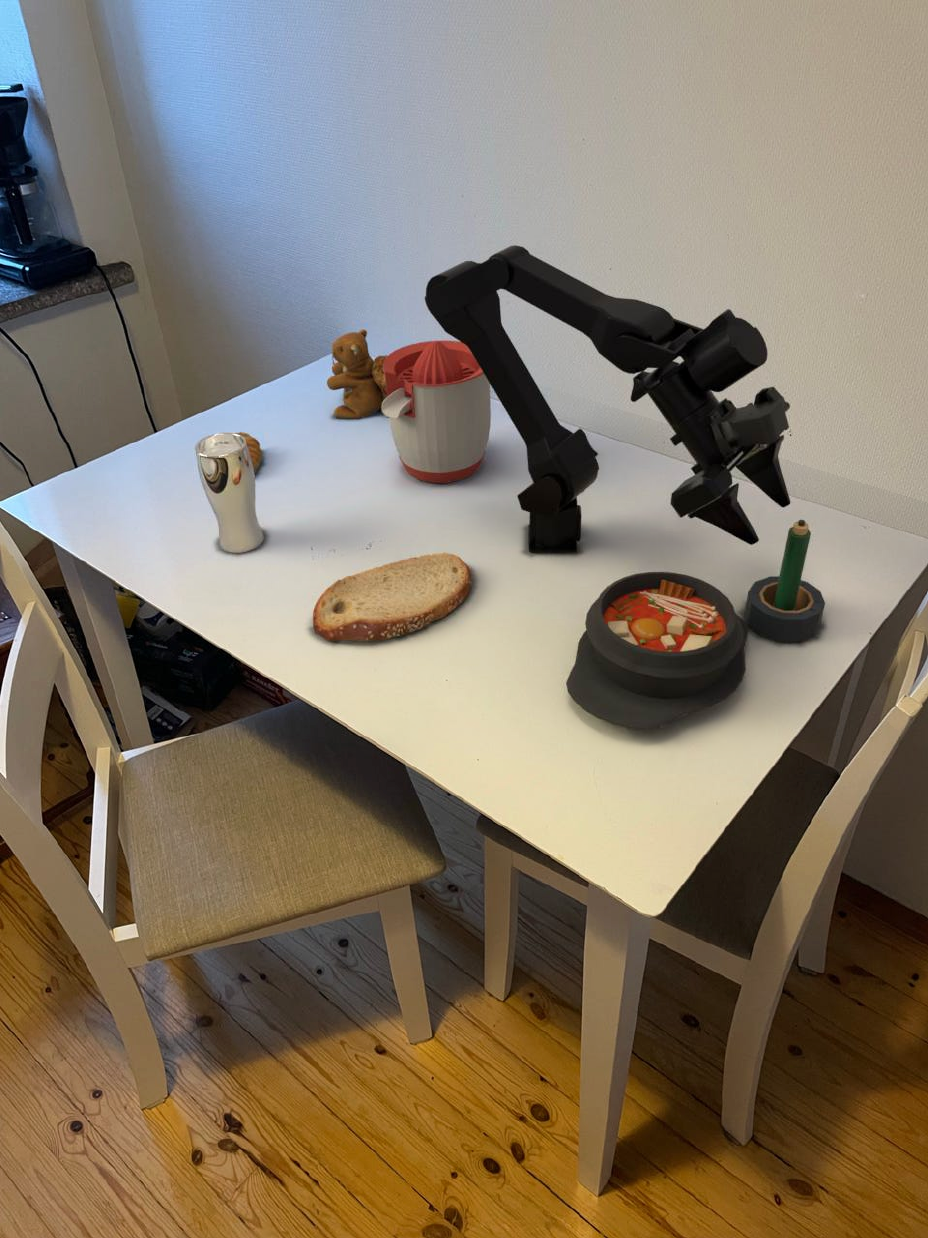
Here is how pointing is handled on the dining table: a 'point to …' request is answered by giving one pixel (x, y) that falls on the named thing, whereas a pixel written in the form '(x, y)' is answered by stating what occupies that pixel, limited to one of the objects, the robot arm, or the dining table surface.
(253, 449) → the pastry
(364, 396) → the stuffed squirrel
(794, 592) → the pencil
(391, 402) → the citrus juicer
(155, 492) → the dining table surface
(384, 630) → the slice of bread
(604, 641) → the casserole
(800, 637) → the tape roll
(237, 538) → the beer glass
